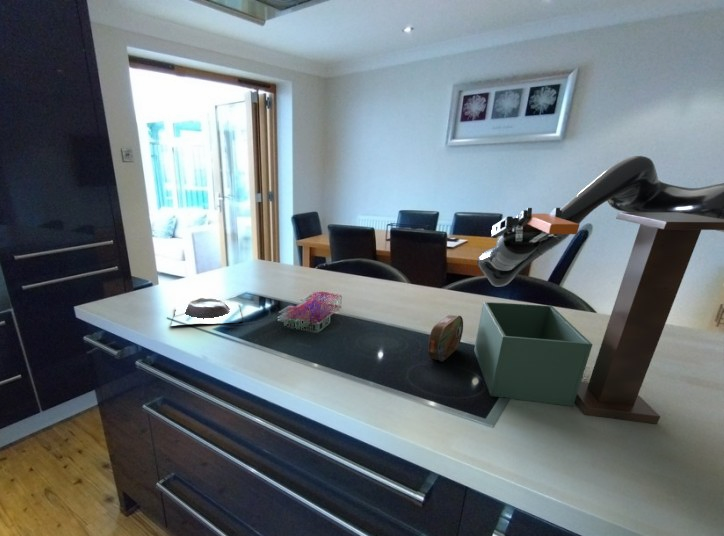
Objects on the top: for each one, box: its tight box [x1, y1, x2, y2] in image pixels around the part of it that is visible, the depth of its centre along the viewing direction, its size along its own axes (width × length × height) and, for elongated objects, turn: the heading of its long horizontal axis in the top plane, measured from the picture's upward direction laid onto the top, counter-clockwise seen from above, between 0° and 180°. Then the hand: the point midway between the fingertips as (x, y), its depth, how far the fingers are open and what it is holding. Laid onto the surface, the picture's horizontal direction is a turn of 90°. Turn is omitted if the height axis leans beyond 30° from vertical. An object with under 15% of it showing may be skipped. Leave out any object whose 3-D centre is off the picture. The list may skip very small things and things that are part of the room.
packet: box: [527, 213, 580, 235], centre depth 71 cm, size 4×18×2 cm, turn 162°
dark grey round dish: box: [185, 297, 230, 319], centre depth 120 cm, size 21×20×4 cm
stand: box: [574, 211, 724, 425], centre depth 63 cm, size 10×14×32 cm
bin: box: [473, 301, 594, 407], centre depth 78 cm, size 13×21×12 cm, turn 162°
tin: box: [427, 314, 464, 362], centre depth 88 cm, size 15×3×8 cm, turn 137°
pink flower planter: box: [277, 291, 343, 334], centre depth 117 cm, size 30×15×5 cm, turn 150°
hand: (543, 212), depth 74 cm, fingers closed on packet, 4 cm apart
